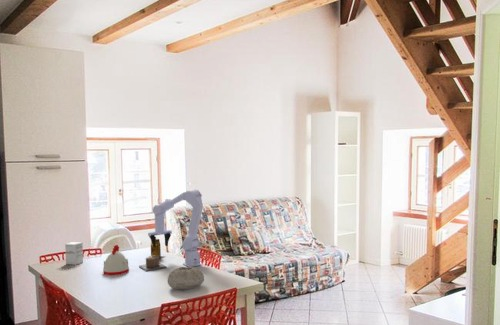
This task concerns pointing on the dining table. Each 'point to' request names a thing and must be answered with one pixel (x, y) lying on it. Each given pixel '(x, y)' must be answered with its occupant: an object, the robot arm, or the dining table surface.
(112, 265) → the kitchen timer
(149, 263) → the taped cardboard box
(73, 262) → the supplement box
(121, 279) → the dining table surface
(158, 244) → the condiment
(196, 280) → the grey stone
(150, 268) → the hub plate
